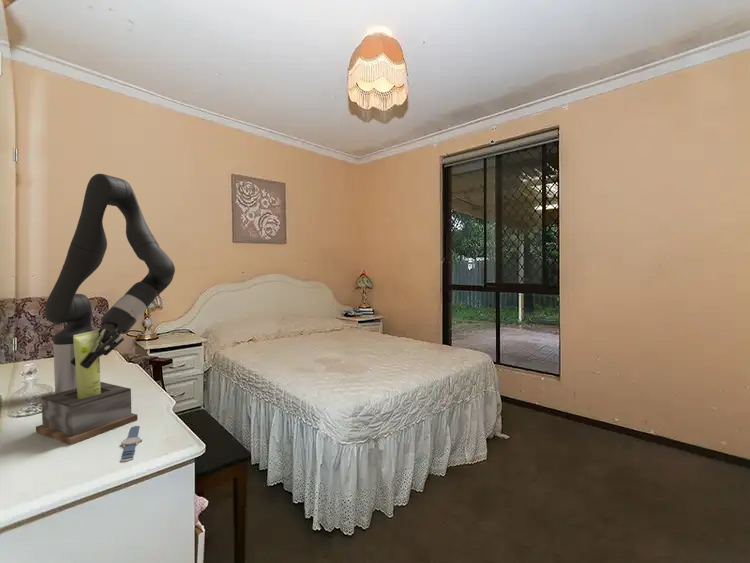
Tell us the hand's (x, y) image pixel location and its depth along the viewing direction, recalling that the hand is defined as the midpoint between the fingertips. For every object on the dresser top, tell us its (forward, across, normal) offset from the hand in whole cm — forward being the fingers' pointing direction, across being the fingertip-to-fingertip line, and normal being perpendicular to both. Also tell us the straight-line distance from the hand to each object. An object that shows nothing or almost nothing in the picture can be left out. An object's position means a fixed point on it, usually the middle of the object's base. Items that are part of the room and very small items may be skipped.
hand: (78, 365), depth 97 cm
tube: (+7, 0, +9) cm, 11 cm away
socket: (+11, 0, +13) cm, 17 cm away
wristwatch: (+12, +20, +13) cm, 26 cm away
